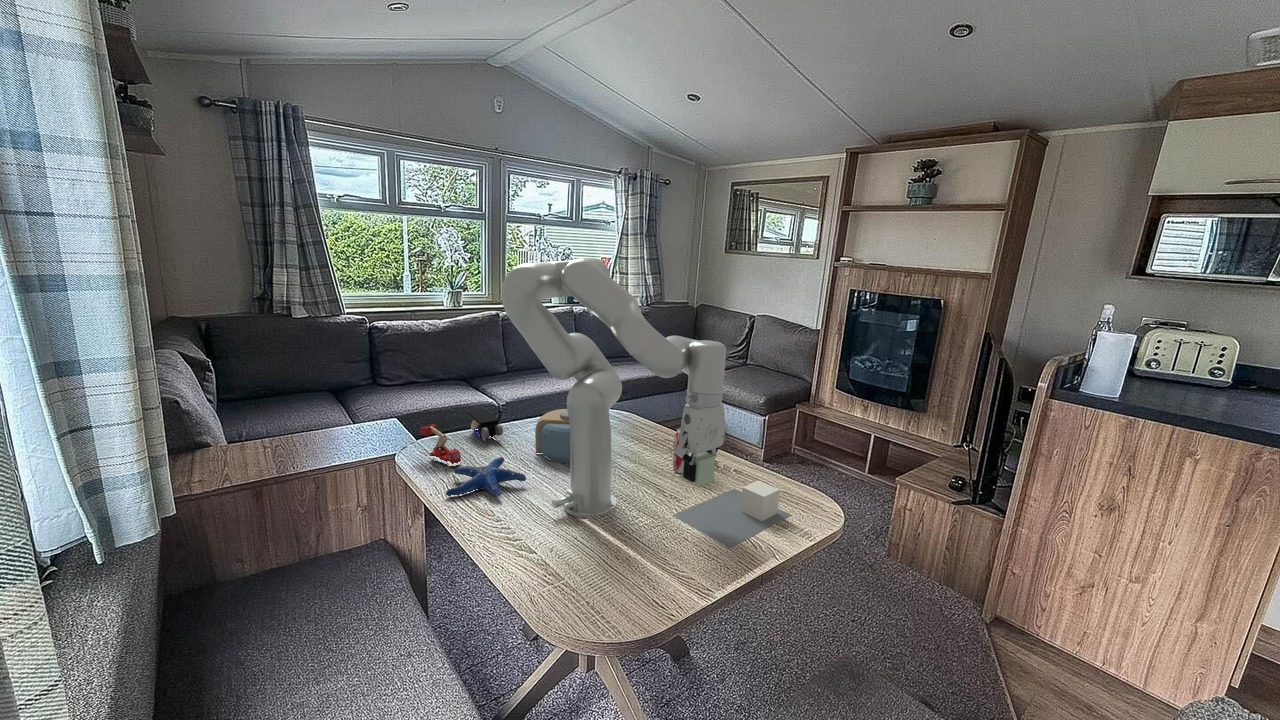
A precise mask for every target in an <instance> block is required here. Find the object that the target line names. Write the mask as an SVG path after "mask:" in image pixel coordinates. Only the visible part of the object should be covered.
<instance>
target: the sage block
mask: <svg viewBox="0 0 1280 720" xmlns="http://www.w3.org/2000/svg"><path fill="white" fill-rule="evenodd" d="M691 454H692V453H691V452H689V456H690V458H691ZM716 458H717V455H716V456H715V455H713V454H711V453H708V452H703V453H699V454H697V456H696V460H695V463H694V464H695V465H696V476H695V482H691V481H689V480H687V479H685V478H684V477H683V469H684V462H683V469H682V473H681V479H682V480H684V481H686V482H688V483H690V484H692V485H694V486H696V487H697V488H698V487H701V486H704V485H706V484H709V483H712V482H714V481H715V480H714V479H715V470H716Z"/></svg>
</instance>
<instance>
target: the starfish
mask: <svg viewBox="0 0 1280 720" xmlns="http://www.w3.org/2000/svg"><path fill="white" fill-rule="evenodd" d="M504 462H505V458H504V457H503V456H501V457H497V458H495V459H493V460H492V461H491V462H490V463H488V465H486V466H480V467H479V466H473V465H472V466H469V465H466V466H461V467H457V468H454V469H453V473H455V474H456V475H463V476H466V477H469V478H470V479H468V480H467V481H464V482H463V483H462V484H460V485H458V486H456V487H454V488H449V489H448V490H446V492H445V495H446V496H447V495H448V496H451V495H460V494H464V493H467V492H471V491H473V490H476V489H479V490H482V489H481V488H484V489H483V490H485V489H486V490H485V491H486V492H489V493H491V494H492V495H493V496H496V497H500V496H502V494H503V490H502V489H501V488H500V487H499V484H500V483H502V482H503V483H504V482H509V481H520V482H525V481H527V477H526V474H524V473H520V472H516V471H514V470H510V469H506V468H502V467H501V466H502V465H503V463H504ZM500 467H501V468H500Z"/></svg>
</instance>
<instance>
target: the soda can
mask: <svg viewBox="0 0 1280 720" xmlns="http://www.w3.org/2000/svg"><path fill="white" fill-rule="evenodd" d="M680 429H681V427H679V428H677V429H676V432H675V434H674V437H673V446H672V447H673V450H672V453H673V454H672V469H673V471H674V472H675V473H677V474H682V469H683V461H682V459H681V458H680V456H678V455H677V454H676V453H675V450H676V448H677V446H678V444H679V443H680Z"/></svg>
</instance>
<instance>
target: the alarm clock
mask: <svg viewBox="0 0 1280 720" xmlns="http://www.w3.org/2000/svg"><path fill="white" fill-rule="evenodd" d="M534 431H535V434H534V435H535V438H534V439H535V454H536V453H543V454H542V456H543V455H544V456H546V457H547V458H549V459H551V460H550V461H552V460H555V461H554V462H556V461H560V462H559V463H563V462H570V424H569V416H568V410H567V408H562V409H561V408H560V409H555V410H550V411H548V412H546V413H544V414H543V415H542V416H541V417H539V418H538V420H537V422H536V424H535V430H534ZM544 456H543V457H544ZM547 458H546V459H547ZM549 459H548V460H549Z"/></svg>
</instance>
